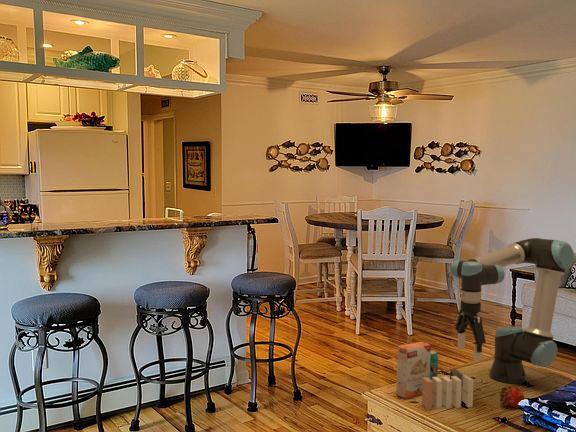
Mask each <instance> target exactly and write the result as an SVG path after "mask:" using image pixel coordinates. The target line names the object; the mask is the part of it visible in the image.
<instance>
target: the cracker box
mask: <svg viewBox="0 0 576 432" xmlns="http://www.w3.org/2000/svg"><path fill="white" fill-rule="evenodd" d="M431 350H432V345H431V344H430V343H426V342H423V341H417V342H411V343H407V344H406V343H405V344H402V345H399V346H397V362H396V363H397V366H396V394H395V395H396V396H398V397H399V398H402V399H404V400H409V399H412V398H415V397H419V396H422V381H423V377H428V378H429V379H430V357H431Z"/></svg>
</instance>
